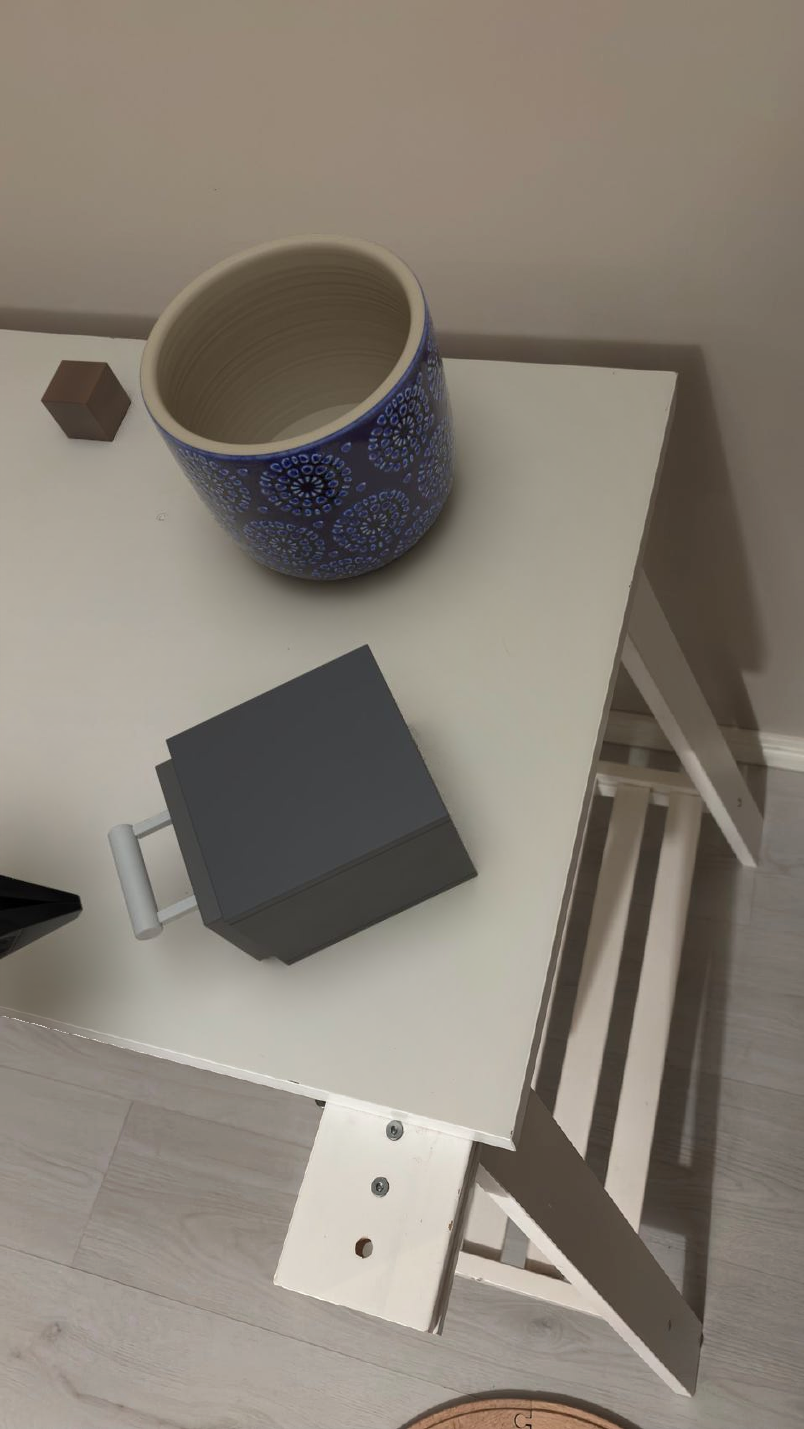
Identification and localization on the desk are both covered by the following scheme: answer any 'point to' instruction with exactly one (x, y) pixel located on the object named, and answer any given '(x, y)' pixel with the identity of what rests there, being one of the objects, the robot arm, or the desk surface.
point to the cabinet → (316, 810)
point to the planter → (307, 403)
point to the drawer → (204, 898)
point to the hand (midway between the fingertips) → (79, 906)
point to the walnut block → (86, 400)
